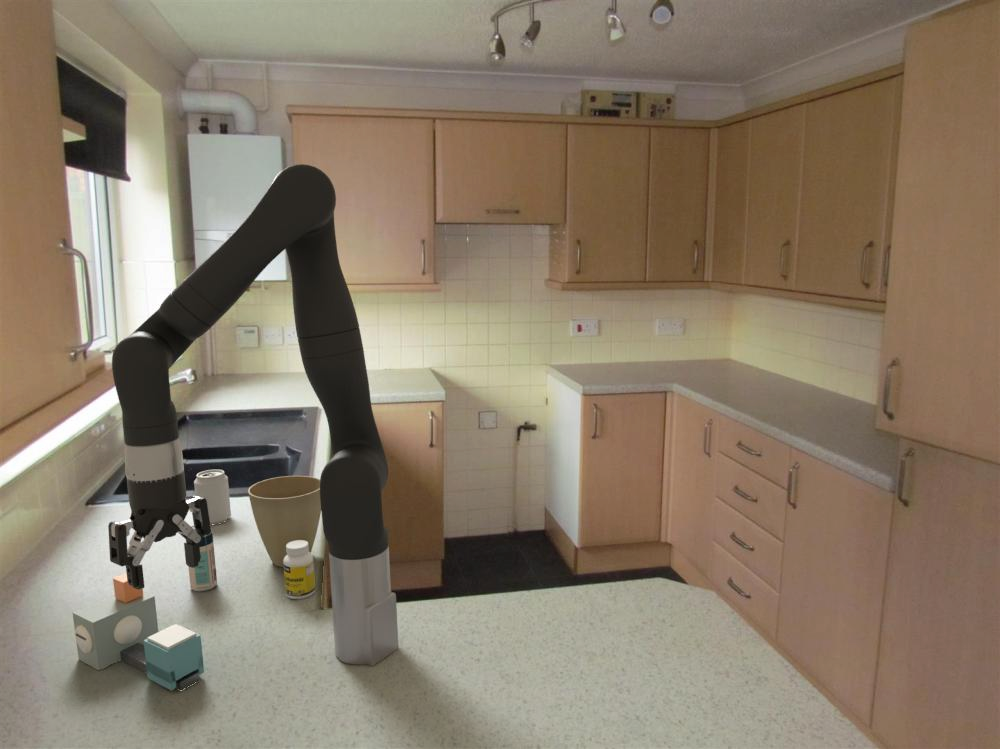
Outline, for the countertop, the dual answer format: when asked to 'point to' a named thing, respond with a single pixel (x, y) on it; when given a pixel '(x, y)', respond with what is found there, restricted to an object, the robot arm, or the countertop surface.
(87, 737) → the countertop surface
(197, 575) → the beer can
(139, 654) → the rail
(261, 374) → the countertop surface
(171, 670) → the box
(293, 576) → the supplement bottle
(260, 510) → the plant pot
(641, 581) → the countertop surface
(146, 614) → the cabinet
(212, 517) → the can
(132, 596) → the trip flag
